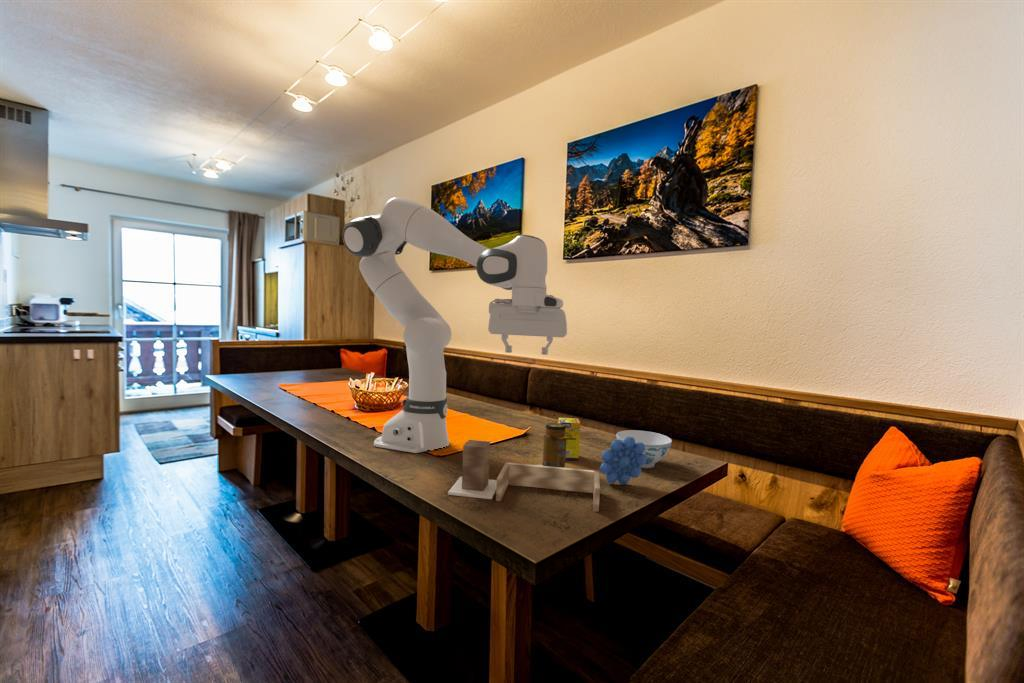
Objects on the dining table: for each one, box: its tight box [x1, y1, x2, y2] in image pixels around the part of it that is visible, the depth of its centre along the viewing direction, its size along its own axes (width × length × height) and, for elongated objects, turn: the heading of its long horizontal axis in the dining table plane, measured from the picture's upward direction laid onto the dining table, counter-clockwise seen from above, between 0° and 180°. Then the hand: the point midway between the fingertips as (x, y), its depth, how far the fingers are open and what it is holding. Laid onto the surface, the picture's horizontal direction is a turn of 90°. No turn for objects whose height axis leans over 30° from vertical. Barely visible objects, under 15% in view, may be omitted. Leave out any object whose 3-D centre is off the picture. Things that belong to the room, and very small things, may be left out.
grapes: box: [599, 437, 647, 485], centre depth 112 cm, size 12×7×12 cm, turn 92°
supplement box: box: [557, 417, 581, 462], centre depth 131 cm, size 6×6×11 cm
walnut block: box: [461, 439, 491, 491], centre depth 104 cm, size 5×5×10 cm
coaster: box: [447, 476, 497, 500], centre depth 105 cm, size 10×10×1 cm
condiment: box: [537, 422, 567, 468], centre depth 119 cm, size 7×8×12 cm
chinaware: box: [615, 429, 673, 469], centre depth 127 cm, size 15×15×8 cm
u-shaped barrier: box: [495, 462, 601, 513], centre depth 102 cm, size 22×11×5 cm, turn 81°
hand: (526, 353), depth 116 cm, fingers open, 8 cm apart
